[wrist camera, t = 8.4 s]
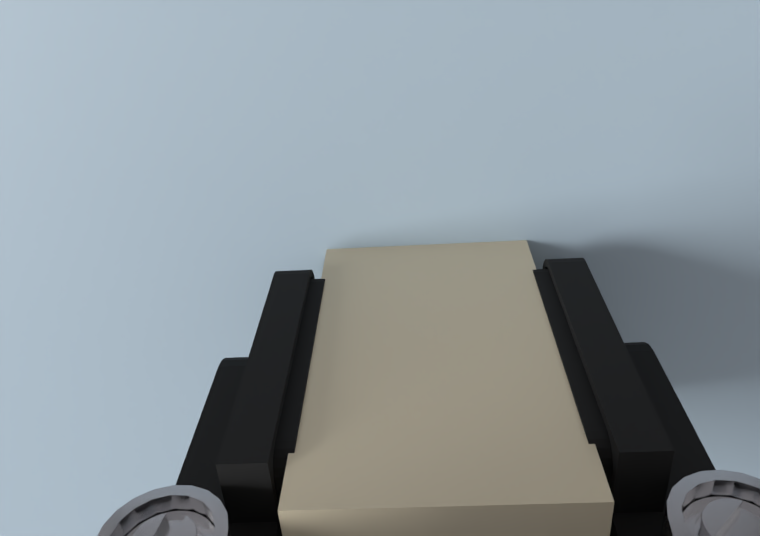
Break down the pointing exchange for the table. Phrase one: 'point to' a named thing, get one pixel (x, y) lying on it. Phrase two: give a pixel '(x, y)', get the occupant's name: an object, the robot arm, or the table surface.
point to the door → (369, 243)
